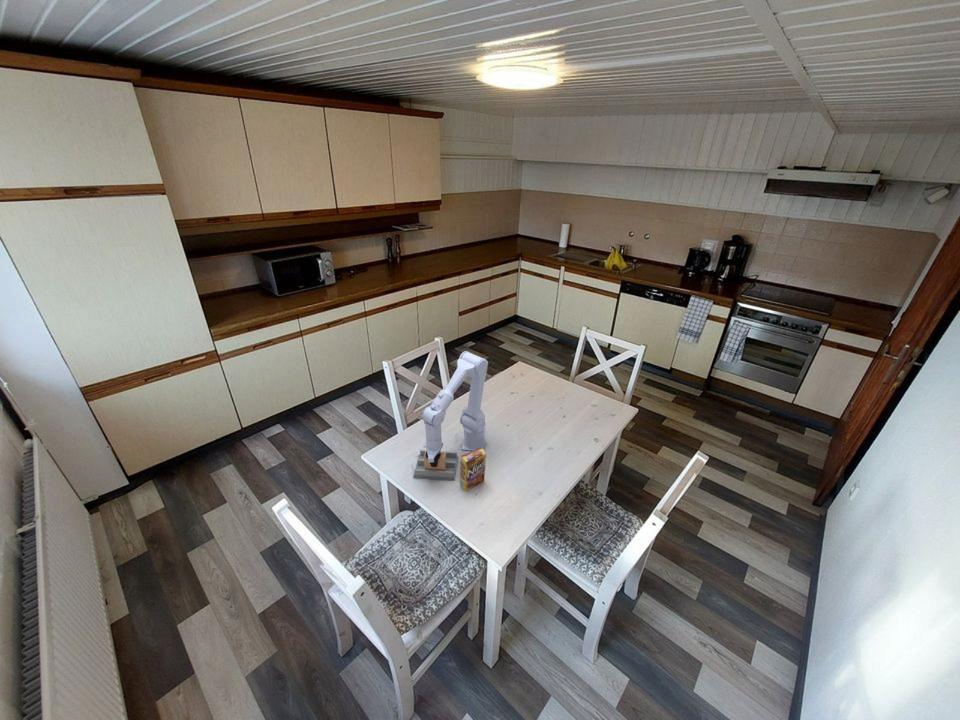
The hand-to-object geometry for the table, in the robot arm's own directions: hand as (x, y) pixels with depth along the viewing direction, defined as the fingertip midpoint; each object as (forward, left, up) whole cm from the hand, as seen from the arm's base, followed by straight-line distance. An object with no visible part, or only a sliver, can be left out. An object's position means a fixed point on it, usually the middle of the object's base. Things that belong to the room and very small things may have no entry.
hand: (434, 463), depth 150 cm
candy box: (-15, +4, -5) cm, 17 cm away
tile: (0, 0, -4) cm, 4 cm away
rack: (0, -3, -5) cm, 6 cm away
